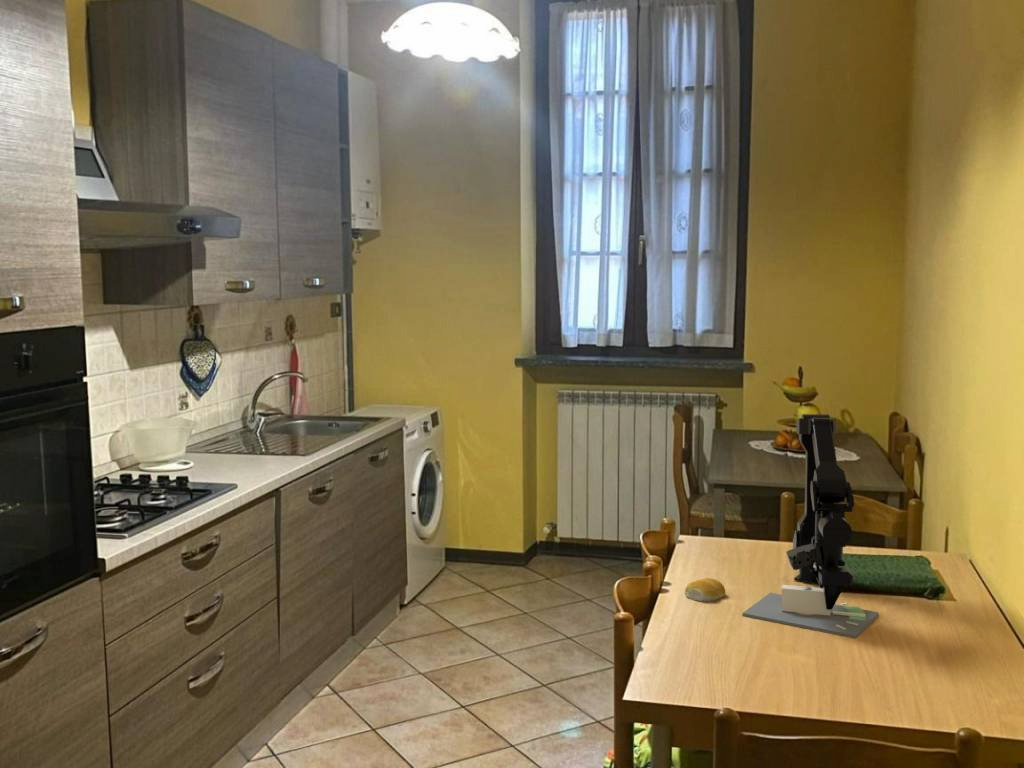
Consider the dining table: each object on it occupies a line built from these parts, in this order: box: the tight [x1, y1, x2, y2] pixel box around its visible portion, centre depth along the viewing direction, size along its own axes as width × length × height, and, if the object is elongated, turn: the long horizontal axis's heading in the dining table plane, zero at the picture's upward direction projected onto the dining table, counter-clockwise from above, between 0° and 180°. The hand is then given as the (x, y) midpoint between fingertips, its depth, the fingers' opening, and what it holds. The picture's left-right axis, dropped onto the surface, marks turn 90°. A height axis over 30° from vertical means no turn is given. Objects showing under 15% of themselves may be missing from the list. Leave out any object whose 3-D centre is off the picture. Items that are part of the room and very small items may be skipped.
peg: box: [781, 584, 865, 617], centre depth 215 cm, size 3×17×5 cm, turn 71°
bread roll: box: [684, 577, 726, 602], centre depth 230 cm, size 8×9×4 cm
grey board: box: [742, 592, 880, 639], centre depth 217 cm, size 18×24×1 cm
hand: (827, 606), depth 215 cm, fingers open, 3 cm apart
